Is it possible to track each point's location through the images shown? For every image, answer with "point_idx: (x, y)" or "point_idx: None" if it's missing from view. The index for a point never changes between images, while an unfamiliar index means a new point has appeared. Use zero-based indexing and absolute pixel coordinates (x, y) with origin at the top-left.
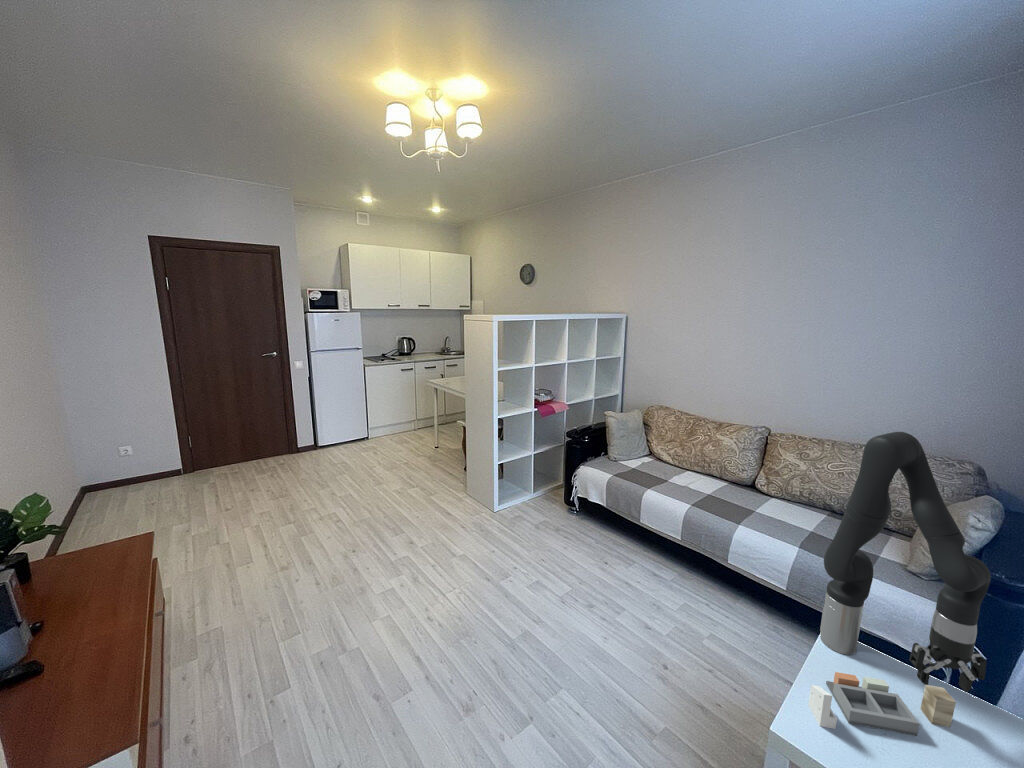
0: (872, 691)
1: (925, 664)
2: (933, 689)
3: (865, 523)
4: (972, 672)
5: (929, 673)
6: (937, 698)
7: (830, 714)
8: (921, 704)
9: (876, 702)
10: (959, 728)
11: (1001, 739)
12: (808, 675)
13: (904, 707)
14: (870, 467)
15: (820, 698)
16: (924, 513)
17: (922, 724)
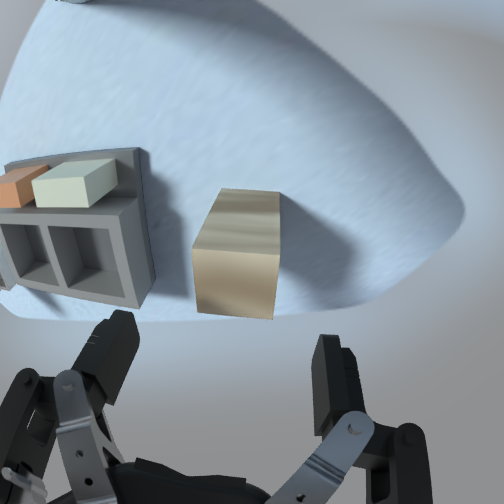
0: (53, 221)
1: (89, 403)
2: (215, 270)
3: None
4: (363, 460)
5: (111, 404)
6: (200, 311)
7: (6, 270)
8: (217, 197)
9: (56, 258)
10: (302, 242)
11: (394, 261)
12: None
13: (119, 266)
14: None
15: None
16: None
17: (191, 243)
